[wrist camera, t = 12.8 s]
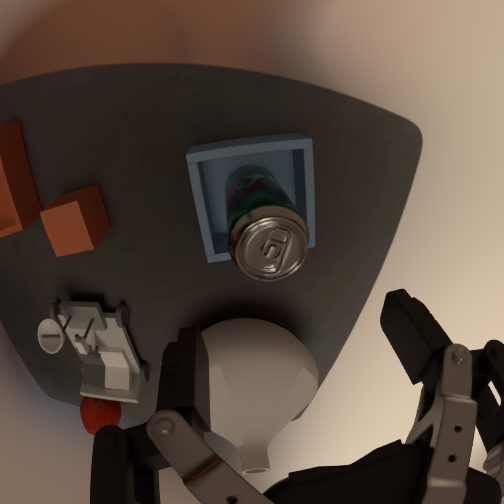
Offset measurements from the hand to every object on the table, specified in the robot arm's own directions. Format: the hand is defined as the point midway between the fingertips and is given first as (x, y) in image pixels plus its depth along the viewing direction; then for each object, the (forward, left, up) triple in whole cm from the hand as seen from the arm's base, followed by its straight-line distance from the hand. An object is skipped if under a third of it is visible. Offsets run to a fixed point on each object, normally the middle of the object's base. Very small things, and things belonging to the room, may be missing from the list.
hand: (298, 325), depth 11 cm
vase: (+22, -4, -19) cm, 29 cm away
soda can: (0, 0, -18) cm, 18 cm away
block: (-1, -18, -19) cm, 26 cm away
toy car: (+17, -24, -19) cm, 35 cm away
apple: (+34, -33, -19) cm, 51 cm away
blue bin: (0, 0, -19) cm, 19 cm away
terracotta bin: (-8, -30, -19) cm, 36 cm away
